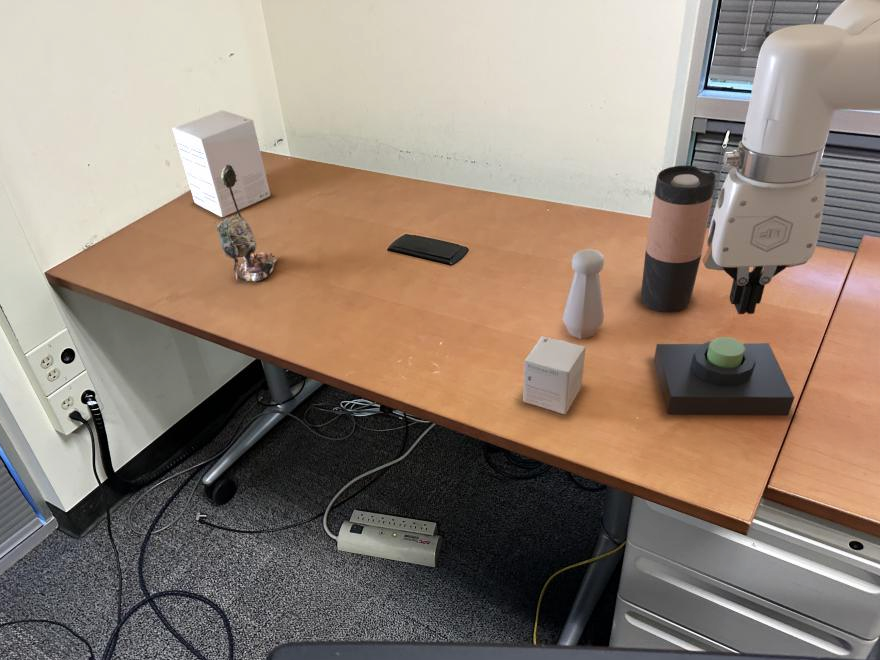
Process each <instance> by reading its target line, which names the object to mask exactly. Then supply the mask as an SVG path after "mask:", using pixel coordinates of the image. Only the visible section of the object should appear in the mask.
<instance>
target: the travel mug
mask: <svg viewBox="0 0 880 660" xmlns="http://www.w3.org/2000/svg"><path fill="white" fill-rule="evenodd" d="M655 181H656V182H655V188H654V195H653V201H652V208H651V213H650V220H649V226H648V232H647V234H648V235H647V239H646V244H645V254H644V261H643V271H642V280H641V291H640V300H641V302H642V304H643V305H644V306H645V307H647V308H648V309H650V310H653V311H657V312H661V313H674V312H680V311H682V310H684V309H686V308H687V307H689V305H690V302H691V300H692V295H693V292H694V288H695V284H696V279H697V275H698V270H699V267H700V263H701V258H702V254H703V249H704V245H705V239H706V234H707V229H708V222H709V217H710V212H711V207H712V204H713V203H712V202H713V198H714V192H715V187H716V181H717V176H716V174H715V172H714V171H710V172H704V171H702V170H700V169H699V168H698V167H697V166H695V165H674V166H669V167H667V168H665V169H662V170H661V171H659V172H658V174H657V177H656V180H655Z"/></svg>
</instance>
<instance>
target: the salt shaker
mask: <svg viewBox="0 0 880 660" xmlns="http://www.w3.org/2000/svg"><path fill="white" fill-rule="evenodd" d="M604 264H605V257H604V255H603V254H602V253H601V252H600V251H599V250H597V249H592V248H584V249H581V250H578V251H576V252H575V253H574V254H572V259H571V268H572V271H574V274H573V277H572V281H571V285H570V289H569V292H568V296H567V300H566V304H565V307H564V311H563V314H562V322H563V324H564V325H565V327H566V329H567V331H568V334H569V335H570V336H572V337H575V338H577V339H580V340H581V339H587V338H591V337H594V336H595V334H596V333H597V331H598V330H599V328H600V327H601V326H602V325H603V323H604V319H605V314H604V306H603V304H604V303H603V297H602V287H601V279H600V273H601V271H602V270H603V268H604Z"/></svg>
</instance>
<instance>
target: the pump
mask: <svg viewBox="0 0 880 660" xmlns="http://www.w3.org/2000/svg"><path fill="white" fill-rule="evenodd" d="M710 341H711V342H710V345H709V349H708V353H707V360H708V362H710V363H711V364H713V365H715V366H719V367H722V368H735V367H738V366H739V365H740V364H741V362H742V358H743V355H744V351H745V347H744V345H743V344H742V342H741V341H739V340H738V339H735V338H732V337H728V336H727V337H726V336H721V337H716V338H713V339H711V340H710Z"/></svg>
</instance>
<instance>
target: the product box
mask: <svg viewBox="0 0 880 660" xmlns="http://www.w3.org/2000/svg"><path fill="white" fill-rule="evenodd" d="M586 349H587V347H586V346H584V345H580V344H576V343H573V342H569V341H566V340H563V339H556V338H552V337H548V336H545V335H541V337H540V338H539V340H538V341H537V342H536V343H535V345H534V347H533V348H532V350H531V351H530V352H529V354H528V355H527V357H526V358H525V359H524V368H523V369H524V370H523V395H522V397H523V398H522V401H523V402H524V403H526V404H530V405H533V406H536V407H540V408H543V409H546V410H548V411H553V412H555V413H559V414H561V415H567V413H568V412H569V410H570V408H571V406H572V404H573V402H574V401H575V399H576V398H577V396H578V394H579V392H580V391H581V390H582V384H583V377H584V368H585V367H584V366H585V357H586Z"/></svg>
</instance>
